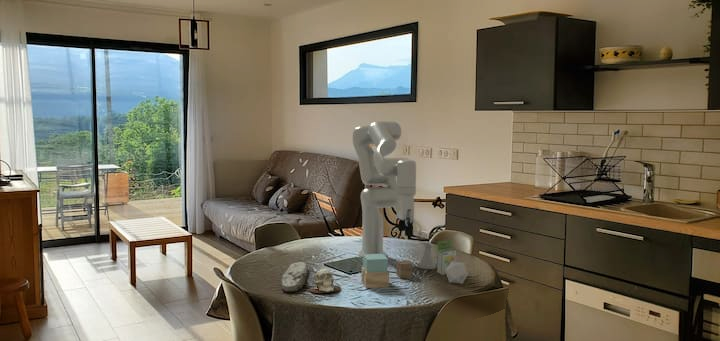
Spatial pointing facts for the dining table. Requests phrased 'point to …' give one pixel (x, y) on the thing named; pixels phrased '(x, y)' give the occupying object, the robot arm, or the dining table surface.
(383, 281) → the bottom block
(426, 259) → the flask
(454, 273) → the die
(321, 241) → the dining table surface
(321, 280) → the skull
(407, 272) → the walnut block
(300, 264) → the elongated rock
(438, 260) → the ink box
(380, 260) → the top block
